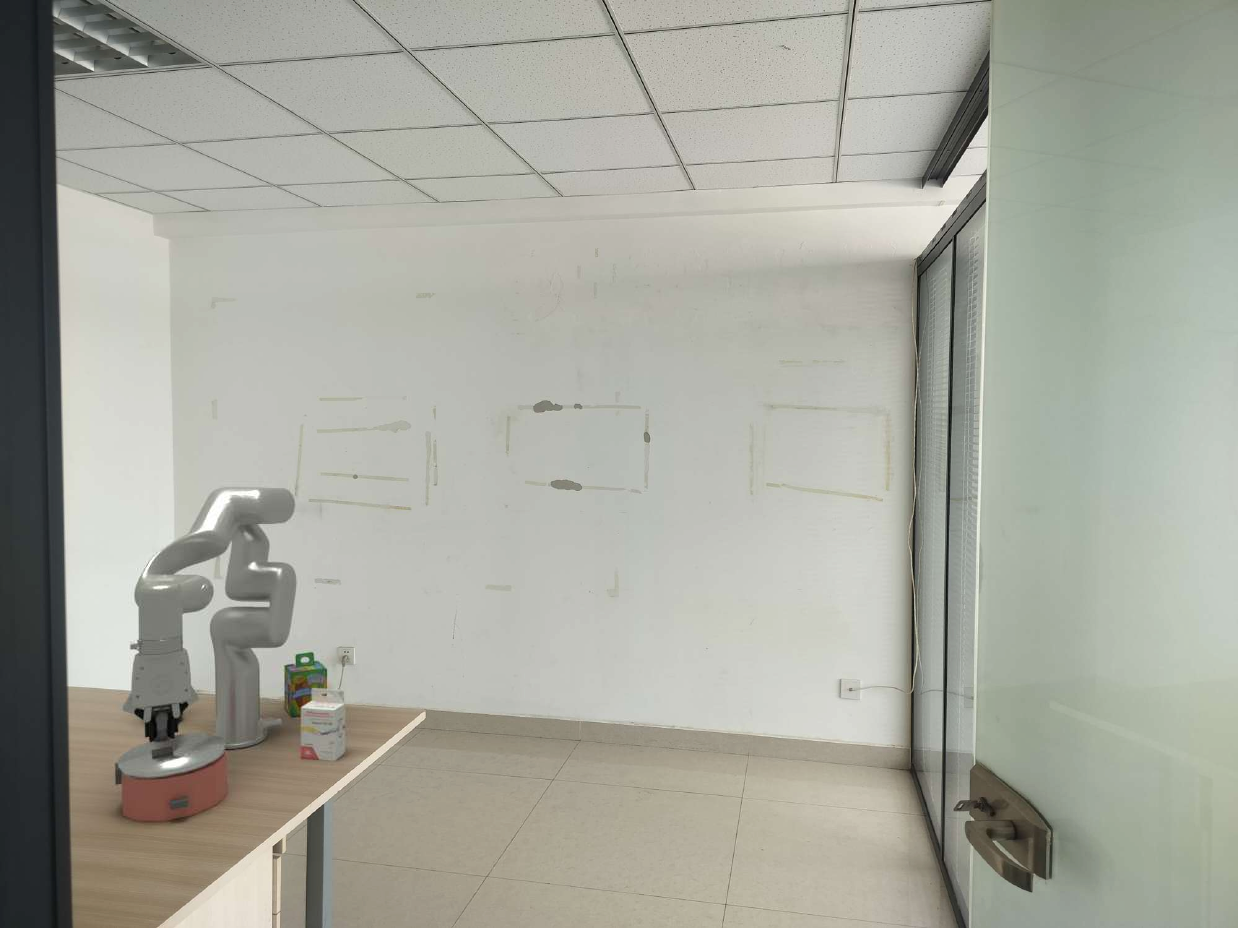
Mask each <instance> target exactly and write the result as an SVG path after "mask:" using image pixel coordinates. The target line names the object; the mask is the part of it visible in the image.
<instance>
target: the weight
mask: <svg viewBox="0 0 1238 928" xmlns="http://www.w3.org/2000/svg"><path fill="white" fill-rule="evenodd" d="M153 722H154V742H164V741H167V740H169V739H170V707H158V708H155V709H153Z"/></svg>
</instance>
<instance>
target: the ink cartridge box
mask: <svg viewBox="0 0 1238 928" xmlns="http://www.w3.org/2000/svg"><path fill="white" fill-rule="evenodd" d="M311 693H312V701H310V702H309V703H307V704H306V705H304V706H302V707H301V715H300V758H301V759H307V760H319V761H331V762H336V761H337V760H339V758H340V757H342V756H343V755H344V754H345V753H346V703H345V691H344V690H342V689H332V688H331V689H330V688H327V689H318V688H312V689H311ZM326 693H327V694H329V695H332V696H328V695H327V696H322V694H326Z"/></svg>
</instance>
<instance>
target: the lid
mask: <svg viewBox="0 0 1238 928" xmlns="http://www.w3.org/2000/svg"><path fill="white" fill-rule="evenodd" d="M224 751H225V752H226V749H225V741H224V740H223V739H222V738H221V737H219V736H216V735H212V734H209V733H184V734H177V735H176V734H175V738H174V739H172V738H170V739H169V740H167V741H164V742H154V741H153V742H149V741H146V742H145V743H144V742H143V743H142V744H140V745H136V746H135V747H133V748H131V749H129V750H128V751H125V752H124V753H123V754H122V755H121V756H120V757H119V759H118V761H117V762H115V763H114V777H115V776H116V775H122V774H123V775H125V776H129V777H134V778H156V777H165V776H171V775H176V774H181V773H185V772H188V771H192V770H195V769H198V768H200V767H203V766H205V765H207V764H209V763H211V762H213V761H215V760H216V759H218V758H219V757H220V756H221V755H222V754H223V753H224Z"/></svg>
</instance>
